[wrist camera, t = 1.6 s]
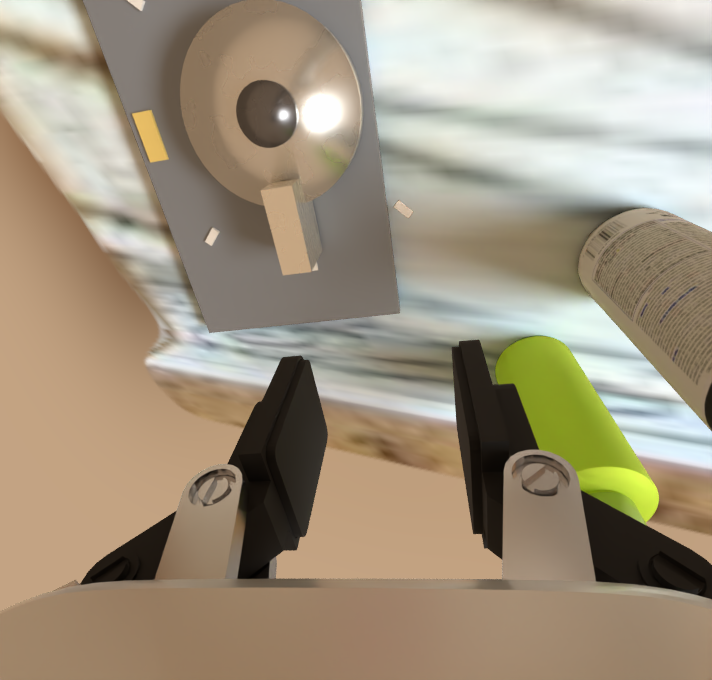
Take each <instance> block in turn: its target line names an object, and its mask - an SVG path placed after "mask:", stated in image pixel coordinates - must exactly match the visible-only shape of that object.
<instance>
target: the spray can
mask: <svg viewBox="0 0 712 680" xmlns="http://www.w3.org/2000/svg"><path fill="white" fill-rule="evenodd" d="M578 274H579V277H580V280H581V282H582V285H583V287H584V288H585V290H586V291H587V292H588V294H589V295H590V296H591V297H592V298H593V299H594V300H595V301H596V302H597V304H598V305H599V306H600V307H601V308H602V309H603V310H604V311H605V312H606V314H607V315H608V316H609V317H610V318H611V319H612V320H613V321H614V323H615V324H616V325H617V326H618V327H619V328H620V329H621V330H622V331H623V333H624V334H625V335H626V336H627V337H628V338H629V339H630V341H631V342H632V343H633V344H634V345H635V346H636V347H637V348H638V349H639V351H640V352H641V353H642V354H643V355H644V356H645V357H646V358H647V360H648V361H649V362H650V363H651V364H652V365H653V366H654V367H655V368H656V370H657V371H658V372H659V373H660V374H661V375H662V376H663V378H664V379H665V380H666V381H667V382H668V383H669V384H670V385H671V386H672V388H673V389H674V390H675V391H676V392H677V393H678V394H679V395H680V397H681V398H682V399H683V400H684V401H685V402H686V403H687V404H688V405H689V407H690V408H691V409H692V410H693V411H694V412H695V413H696V414H697V415H698V417H699V418H700V419H701V420H702V421H703V422H704V423H705V424H706V425H707V427H708V428H709V429H710V430H711V431H712V232H711V231H708V230H706V229H704V228H702V227H700V226H697V225H695V224H693V223H691V222H689V221H686V220H684V219H682V218H680V217H678V216H676V215H674V214H671V213H669V212H667V211H663V210H659V209H651V208H639V209H633V210H628V211H625V212H623V213H621V214H619V215H617V216H615V217H612V218H610V219H608V220H607V221H605V222H604V223H602V224H601V225H600V226H599V227H597V228H596V229H595V230H594V231H593V232H592V233H591V234H590V235H589V237H588V239H587V241H586V243H585V245H584V247H583V249H582V251H581V253H580V257H579V265H578Z"/></svg>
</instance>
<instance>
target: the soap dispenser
mask: <svg viewBox="0 0 712 680" xmlns="http://www.w3.org/2000/svg"><path fill="white" fill-rule="evenodd" d="M495 375H496V379H497V382H498V384H511V383H513V384H515V386H516V388H517V391H518V394H519V397H520V399H521V402H522V405H523V407H524V410H525V413H526V415H527V418H528V421H529V423H530V426H531V429H532V431H533V434H534V437H535V439H536V442H537V445H538V448H539V450H543V451H548V452H551V453H554V454H556V455H558V456H560V457H562V458H563V459H565V460H566V461H568V462H569V463H570V464H571V466H572V467H573V468H574V469H575V471H576V473H577V476H578V478H579V484H580V490H582V491H584V492H586V493H587V494H589V495H591V496H593V497H595V498H597V499H599V500H600V501H602V502H604V503H606V504H608V505H610V506H611V507H613V508H615V509H617V510H619V511H621V512H623V513H624V514H626V515H628V516H630V517H632V518H634V519H635V520H637V521H639V522H641V523H643V524H645V525H646V522H647V521H648V520H649V519H650V518H651V517H652V515H653V514H654V512H655V511H656V509H657V506H658V502H659V495H658V491H657V488H656V486H655V485H654V483H653V481H652V480H651V478H650V477H649V475H648V473H647V472H646V470H645V469H644V467H643V465H642V464H641V462H640V461H639V459H638V458H637V456H636V454H635V453H634V451H633V450H632V448H631V446H630V445H629V443H628V442H627V440H626V439H625V437H624V435H623V434H622V432H621V431H620V429H619V427H618V426H617V424H616V423H615V421H614V419H613V418H612V416H611V415H610V413H609V412H608V410H607V408H606V407H605V405H604V404H603V402H602V400H601V399H600V397H599V396H598V394H597V393H596V391H595V389H594V388H593V386H592V385H591V383H590V381H589V380H588V378H587V377H586V375H585V373H584V372H583V370H582V369H581V367H580V366H579V364H578V362H577V361H576V359H575V358H574V356H573V354H572V353H571V351H570V350H569V348H568V347H567V346H566V345H565V344H564V343H562V342H561V341H559V340H557V339H554V338H551V337H546V336H533V337H527V338H524V339H521V340H519V341H517V342H515V343H513V344H511V345H510V346H509V347H507V348H506V349H505V350H504V351H503V353H502V354H501V355H500V357H499V359H498V361H497V363H496V368H495ZM646 526H647V525H646Z"/></svg>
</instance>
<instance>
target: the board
mask: <svg viewBox="0 0 712 680" xmlns="http://www.w3.org/2000/svg"><path fill="white" fill-rule="evenodd" d="M241 1H244V0H83V2H84V5H85V7H86V10H87V13H88V15H89V18H90V21H91V23H92V26H93V28H94V31H95V34H96V36H97V39H98V42H99V44H100V47H101V49H102V52H103V55H104V57H105V60H106V63H107V65H108V68H109V70H110V73H111V76H112V78H113V81H114V84H115V86H116V89H117V91H118V94H119V97H120V99H121V102H122V105H123V107H124V110H125V112H126V115H127V118H128V120H129V123H130V126H131V128H132V131H133V133H134V136H135V139H136V141H137V144H138V147H139V149H140V152H141V154H142V157H143V160H144V162H145V165H146V168H147V170H148V173H149V175H150V178H151V181H152V183H153V186H154V189H155V191H156V194H157V197H158V199H159V202H160V204H161V207H162V210H163V212H164V215H165V218H166V220H167V223H168V225H169V228H170V231H171V233H172V236H173V239H174V241H175V244H176V246H177V249H178V252H179V254H180V257H181V260H182V262H183V265H184V267H185V270H186V273H187V275H188V278H189V281H190V283H191V286H192V288H193V291H194V294H195V296H196V299H197V302H198V304H199V307H200V309H201V312H202V315H203V317H204V320H205V323H206V325H207V328H208V330H209V333H212V332H222V331H232V330H242V329H251V328H261V327H271V326H281V325H290V324H300V323H310V322H320V321H329V320H339V319H349V318H358V317H368V316H378V315H388V314H397V313H400V305H399V297H398V289H397V281H396V273H395V265H394V257H393V249H392V241H391V233H390V225H389V218H388V210H387V202H386V194H385V186H384V178H383V170H382V162H381V154H380V146H379V138H378V130H377V123H376V115H375V107H374V99H373V91H372V83H371V75H370V67H369V59H368V51H367V43H366V35H365V28H364V20H363V12H362V4H361V0H276V1H282V2H285V3H287V4H290V5H293V6H295V7H297V8H299V9H301V10H303V11H305V12H306V13H308V14H309V15H311V16H312V17H313V18H315V19H316V20H317V21H319V22H320V23H321V24H323V25H324V26H325V27H326V28H327V29H328V30H329V31H330V32H331V33H332V34H333V35H334V36H335V37H336V38H337V39H338V40H339V42H340V43H341V44H342V46H343V47H344V49H345V50H346V52H347V53H348V55H349V57H350V58H351V61H352V63H353V65H354V67H355V70H356V72H357V75H358V78H359V82H360V85H361V91H362V96H363V107H364V117H363V128H362V134H361V138H360V142H359V145H358V148H357V150H356V153H355V155H354V157H353V159H352V161H351V163H350V164H349V166H348V168H347V169H346V170H345V172H344V173H343V174H342V176H341V177H340V178H339V180H338V181H337V182H336V183H335V184H334V185H333V186H332V187H331V188H330V189H329V190H327V191H326V192H325V193H323V194H322V195H321V196H319V197H317V198H315V199H314V200H312V202H313V207H314V212H315V216H316V221H317V226H318V231H319V235H320V240H321V245H322V252H321V254H320V256H319V258H318V260H317V262H316V264H315V266H314V268H313V270H312V272H307V273H299V274H291V275H283V274H282V270H281V266H280V263H279V259H278V255H277V251H276V247H275V244H274V240H273V236H272V232H271V229H270V225H269V221H268V217H267V213H266V210H265V206H263V205H259V204H255V203H252V202H249V201H247V200H245V199H243V198H241V197H239V196H237V195H236V194H234V193H232V192H231V191H229V190H228V189H227V188H225V187H224V186H223V185H222V184H220V183H219V182H218V181H217V180H216V179H215V178H214V177H213V176H212V175H211V173H210V172H209V171H208V170H207V168H206V167H205V166H204V165H203V163H202V162H201V160H200V159H199V157H198V155H197V154H196V152H195V150H194V148H193V146H192V144H191V142H190V139H189V137H188V134H187V131H186V128H185V124H184V121H183V117H182V110H181V103H180V82H181V74H182V69H183V63H184V60H185V57H186V54H187V51H188V49H189V47H190V45H191V43H192V41H193V39H194V37H195V36H196V34H197V33H198V31H199V30H200V29H201V27H202V26H203V25H204V24H205V23H206V22H207V21H208V20H209V19H210V18H211V17H212V16H214V15H215V14H216V13H217V12H219V11H220V10H222V9H224V8H226V7H228V6H230V5H232V4H235V3H238V2H241ZM394 208H395V209H397V210H398V211H399V212H401V213H402V214H403V215H404V216H406V217H407V218H409V217H410V216H411V215H412V213H413V211H412V210H411V209H410V208H408V207H407V206H406V205H404V204H403V203H402V202H401V201H399V200H398V201H397V203H396V204H395V205H394Z"/></svg>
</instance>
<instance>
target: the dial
mask: <svg viewBox="0 0 712 680" xmlns="http://www.w3.org/2000/svg"><path fill="white" fill-rule="evenodd" d="M180 103H181V110H182V117H183V121H184V124H185V128H186V131H187V134H188V137H189V139H190V142H191V144H192V146H193V148H194V150H195V152H196V154H197V155H198V157H199V159H200V160H201V162H202V163H203V165H204V166H205V167H206V168H207V170H208V171H209V172H210V173H211V175H212V176H213V177H214V178H215V179H216V180H217V181H218V182H219V183H220V184H222V185H223V186H224V187H225V188H227V189H228V190H229V191H231V192H232V193H234V194H236V195H237V196H239V197H241V198H243V199H245V200H247V201H249V202H252V203H255V204H259V205H263V206H265V210H266V213H267V217H268V221H269V225H270V229H271V232H272V236H273V240H274V244H275V247H276V251H277V255H278V259H279V263H280V266H281V270H282V274H283V275H291V274H299V273H307V272H312V270H313V268H314V266H315V264H316V262H317V260H318V258H319V256H320V254H321V252H322V245H321V240H320V235H319V231H318V226H317V221H316V216H315V212H314V207H313V202H312V200H314V199H315V198H317V197H319V196H321V195H322V194H323V193H325V192H326V191H327V190H329V189H330V188H331V187H332V186H333V185H334V184H335V183H336V182H337V181H338V180H339V178H340V177H341V176H342V174H343V173H344V172H345V170H346V169H347V168H348V166H349V164H350V163H351V161H352V159H353V157H354V155H355V153H356V150H357V148H358V145H359V142H360V138H361V134H362V128H363V117H364V107H363V96H362V91H361V85H360V82H359V78H358V75H357V72H356V70H355V67H354V65H353V63H352V61H351V58H350V57H349V55H348V53H347V52H346V50H345V49H344V47H343V46H342V44H341V43H340V42H339V40H338V39H337V38H336V37H335V36H334V35H333V34H332V33H331V32H330V31H329V30H328V29H327V28H326V27H325V26H324V25H323V24H321V23H320V22H319V21H317V20H316V19H315V18H313V17H312V16H311V15H309V14H308V13H306V12H305V11H303V10H301V9H299V8H297V7H295V6H293V5H290V4H287V3H285V2H282V1H276V0H244V1H241V2H238V3H235V4H232V5H230V6H228V7H226V8H224V9H222V10H220V11H219V12H217V13H216V14H215V15H214V16H212V17H211V18H210V19H209V20H208V21H207V22H206V23H205V24H204V25H203V26H202V27H201V29H200V30H199V31H198V33H197V34H196V36H195V37H194V39H193V41H192V43H191V45H190V47H189V49H188V51H187V54H186V57H185V60H184V63H183V69H182V74H181V82H180Z"/></svg>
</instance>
